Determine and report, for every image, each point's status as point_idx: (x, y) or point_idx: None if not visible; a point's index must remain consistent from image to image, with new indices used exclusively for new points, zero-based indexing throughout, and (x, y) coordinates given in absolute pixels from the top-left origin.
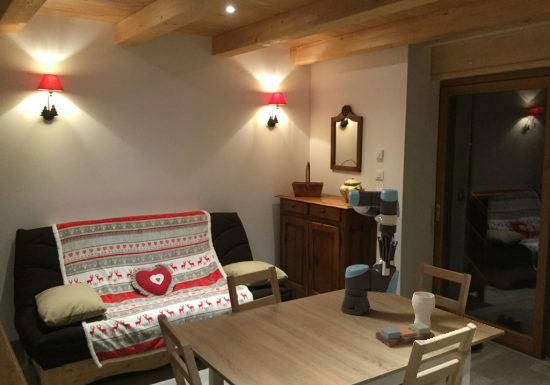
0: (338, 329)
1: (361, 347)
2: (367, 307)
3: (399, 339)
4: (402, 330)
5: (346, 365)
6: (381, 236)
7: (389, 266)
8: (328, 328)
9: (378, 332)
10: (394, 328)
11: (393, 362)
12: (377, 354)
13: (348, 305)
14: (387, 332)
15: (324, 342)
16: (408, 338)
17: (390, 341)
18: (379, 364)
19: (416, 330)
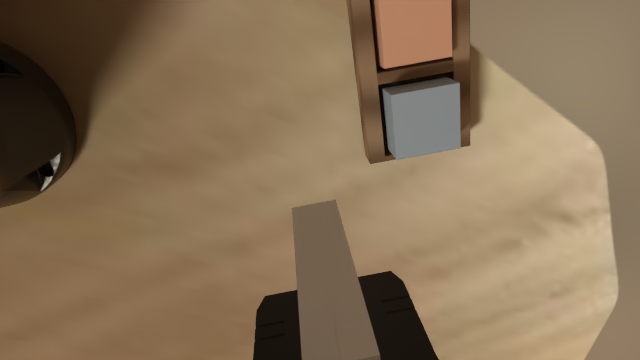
0: (256, 265)
1: (432, 234)
2: (24, 84)
3: (468, 90)
4: (404, 37)
5: (531, 308)
6: None
7: (410, 302)
8: (242, 295)
9: (372, 151)
10: (413, 91)
11: (574, 172)
12: (501, 201)
13: (27, 194)
14: (449, 147)
15: None
16: (469, 39)
17: (469, 136)
18: (566, 220)
19: None
